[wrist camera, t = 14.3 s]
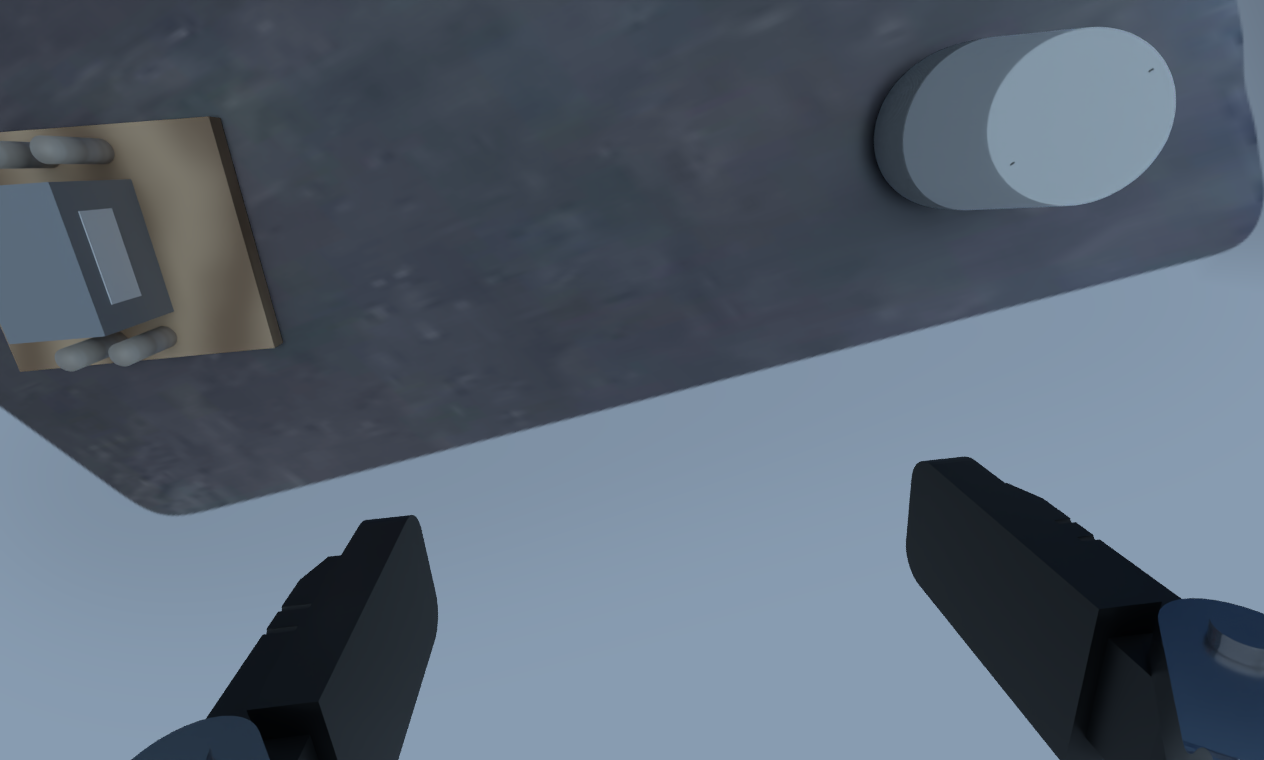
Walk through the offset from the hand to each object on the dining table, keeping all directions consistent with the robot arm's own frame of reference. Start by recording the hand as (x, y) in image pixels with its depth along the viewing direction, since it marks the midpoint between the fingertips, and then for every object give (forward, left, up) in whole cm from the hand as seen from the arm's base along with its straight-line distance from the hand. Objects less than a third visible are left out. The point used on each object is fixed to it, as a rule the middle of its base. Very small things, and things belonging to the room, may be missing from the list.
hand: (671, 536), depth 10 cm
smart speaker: (-6, +22, -33) cm, 40 cm away
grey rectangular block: (-3, -30, -32) cm, 44 cm away
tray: (-3, -30, -33) cm, 45 cm away
